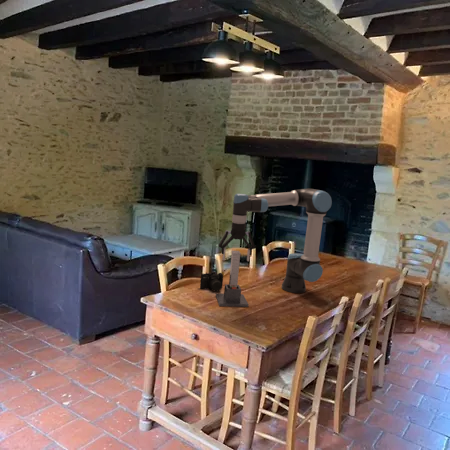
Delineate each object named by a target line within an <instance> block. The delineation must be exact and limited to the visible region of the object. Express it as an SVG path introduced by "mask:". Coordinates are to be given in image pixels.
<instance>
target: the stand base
mask: <svg viewBox="0 0 450 450" xmlns="http://www.w3.org/2000/svg"><path fill="white" fill-rule="evenodd" d="M223 288H224V291H223V293H219V292H218V293H217V292H216V293H215V298H216V301H217V303H218V306H219V307H228V308H229V307H234V308H235V307H237V308H249V304H250V303H248V301H247V299H246V297H245V295H244V294H243V293H242V288H241V286H240V284H237V289H236V287H232V289H231V288H229V283H228V284H227V283H226V284H224V287H223Z"/></svg>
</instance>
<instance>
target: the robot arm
mask: <svg viewBox="0 0 450 450" xmlns="http://www.w3.org/2000/svg"><path fill="white" fill-rule="evenodd" d="M232 202H233V204H232V205H233V208H232V220H231V221H232V223H231V229H230V230H227V229H225V232H224V235H223V237H222V238H221V240H220V241H219V244H218V247H219V248H221V251H220V252H221V253H220V254H221V255H222V261H226V249H227V248H226V247H227V246H228V245H229V244H230V243H231V242H232V241H233V240H239V241H240V240H243V242H244V243H245V245H246V246H247V247H248V248H247V253H246V254H247V255H246V261H247V262H250V256H252V252H253V250H254V249H256V245H255V242H254V240H253V237H252V232H251V231H246V225H247V224H246V223H247V214H248V212H249V213H251V212H252V213H265V212H267V210H268V209H269V207H277V206H289V205H291V206H293V207H296V206H297V207H304V208H306V209H305V213H306V214H307V223H306V232H305V239H304V240H305V241H304V245H303V246H304V248H303V253H297V252H295V253H289V254H288V256H287V259H286V260H287V262H286V271H285V277H284V279H283V282H282V283H281V289H282V290H283V291H286V292H288V293H293V294H302V293H305V292H306V290H307V285H306V282H309V283H314V282H317V281H318V280H319V279H320V278H321V277H322V275H323V273H324V269H323V267H322V265H321V258H320V257H319V251H320V245H321V244H320V243H321V236H322V228H323V223H324V221H323V220H324V217H325V216H326V215H327V212H328V211H329V210H330V209H331V207H332V204H333V203H332V202H333V201H332V197H331V195H330V193H328V192H326V191H325V190H320V189H314V188H300V189H294V190H291V191H287V192H286V191H285V192H276V193H275V192H274V193H273V192H272V193H258V194H246V193H235V194H234V198H233V201H232ZM229 235H230V236H229ZM228 236H229V238H228V239H227V237H228ZM245 236H247V237H248V239H249V241H250V244H251V245H250V244H249V242H248V241H247V239H246V238H245ZM226 239H227V240H226ZM305 281H306V282H305Z"/></svg>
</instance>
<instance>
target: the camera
mask: <svg viewBox="0 0 450 450" xmlns="http://www.w3.org/2000/svg"><path fill="white" fill-rule="evenodd" d="M223 282H224V274H223V273H222V272H219V273H218V274H216V271H211V272H205V273H201V275H200V282H199V288H200V289H202V290H204V289H205V290H212V291H213V292H216V293H217V292H220V291H221V290H222V289H223V286H224V285H223Z"/></svg>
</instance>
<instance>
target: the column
mask: <svg viewBox="0 0 450 450" xmlns="http://www.w3.org/2000/svg"><path fill="white" fill-rule="evenodd" d="M240 260H241V252H240V250H231V258H230V268H229V269H230V270H229V280H228V284H229V288H231V289H232V287H236V289H237V285H239V284H238V281H239V270H240Z"/></svg>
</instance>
